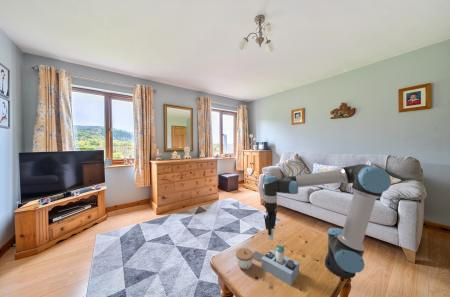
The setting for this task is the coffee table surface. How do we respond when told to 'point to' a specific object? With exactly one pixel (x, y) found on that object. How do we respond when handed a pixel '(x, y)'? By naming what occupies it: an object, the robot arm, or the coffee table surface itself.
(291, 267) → the plunger near
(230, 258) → the coffee table surface
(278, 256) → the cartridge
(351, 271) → the robot arm
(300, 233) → the coffee table surface
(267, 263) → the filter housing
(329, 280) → the coffee table surface
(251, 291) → the coffee table surface
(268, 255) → the plunger far
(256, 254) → the mat
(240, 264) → the lidded jar
